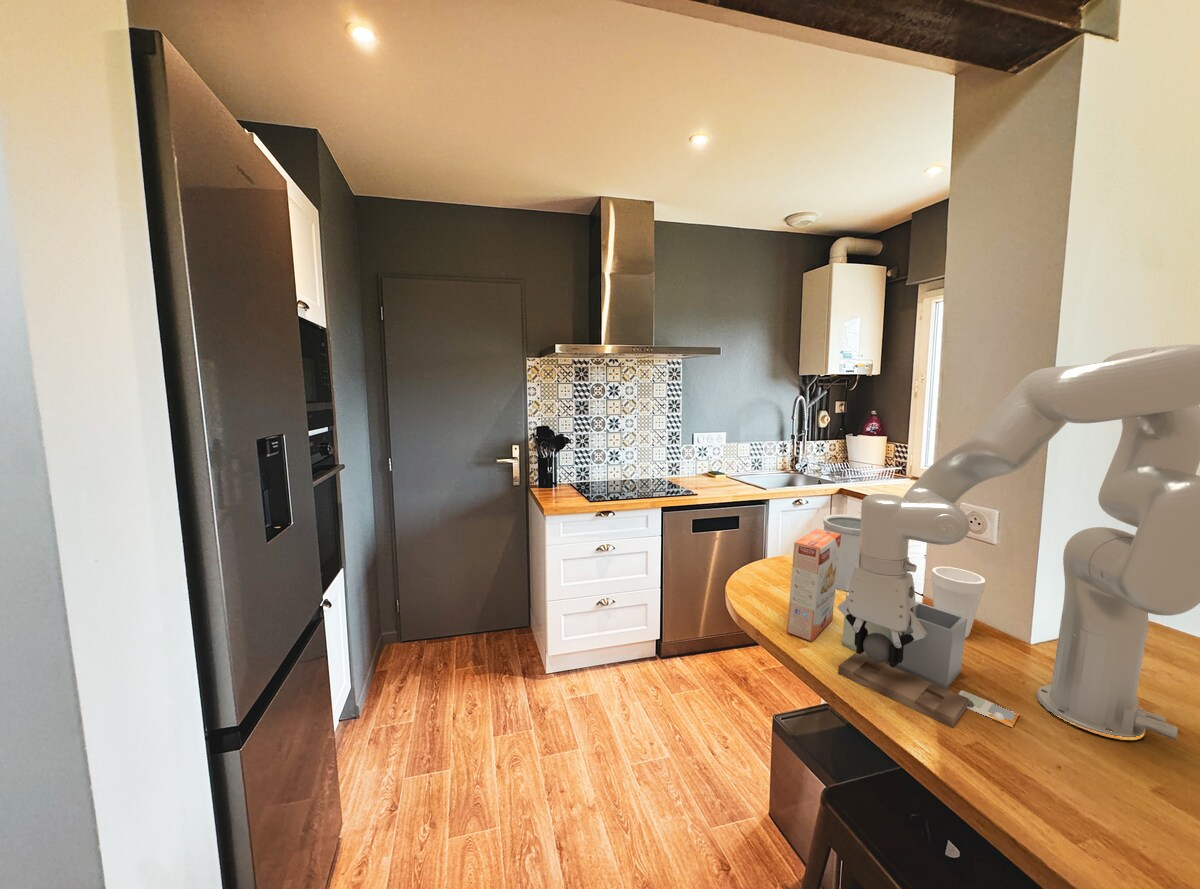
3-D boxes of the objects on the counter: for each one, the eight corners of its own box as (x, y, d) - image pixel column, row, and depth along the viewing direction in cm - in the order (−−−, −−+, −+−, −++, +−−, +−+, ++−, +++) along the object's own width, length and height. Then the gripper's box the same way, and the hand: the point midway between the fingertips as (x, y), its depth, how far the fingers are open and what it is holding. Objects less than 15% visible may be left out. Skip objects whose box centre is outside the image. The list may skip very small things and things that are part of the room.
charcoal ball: (897, 660, 88) (899, 635, 87) (886, 671, 85) (888, 644, 84) (869, 649, 92) (870, 625, 91) (857, 659, 89) (858, 633, 88)
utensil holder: (823, 590, 127) (828, 526, 124) (815, 569, 141) (819, 511, 139) (885, 598, 122) (892, 532, 120) (871, 576, 137) (876, 516, 134)
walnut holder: (967, 707, 81) (968, 698, 81) (952, 727, 76) (953, 718, 76) (856, 658, 95) (857, 651, 94) (838, 673, 90) (838, 665, 89)
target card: (1019, 717, 79) (1020, 709, 79) (1012, 730, 76) (1013, 722, 76) (961, 692, 85) (962, 685, 85) (952, 704, 82) (953, 696, 82)
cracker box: (814, 644, 100) (821, 547, 97) (785, 633, 104) (792, 540, 101) (835, 620, 110) (842, 532, 107) (808, 611, 114) (814, 527, 111)
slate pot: (960, 672, 91) (967, 617, 89) (946, 689, 85) (953, 631, 84) (910, 652, 97) (916, 601, 96) (894, 667, 92) (900, 613, 90)
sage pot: (902, 649, 98) (907, 598, 97) (885, 663, 93) (890, 610, 92) (859, 632, 105) (863, 584, 103) (841, 644, 100) (846, 594, 98)
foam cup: (989, 639, 103) (996, 581, 101) (954, 643, 101) (961, 585, 99) (948, 618, 112) (954, 565, 110) (916, 621, 110) (921, 568, 108)
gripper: (945, 571, 82) (938, 670, 84) (843, 547, 95) (840, 633, 97) (930, 582, 77) (923, 687, 79) (825, 555, 90) (822, 646, 93)
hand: (877, 656), depth 88 cm, fingers closed on charcoal ball, 5 cm apart
